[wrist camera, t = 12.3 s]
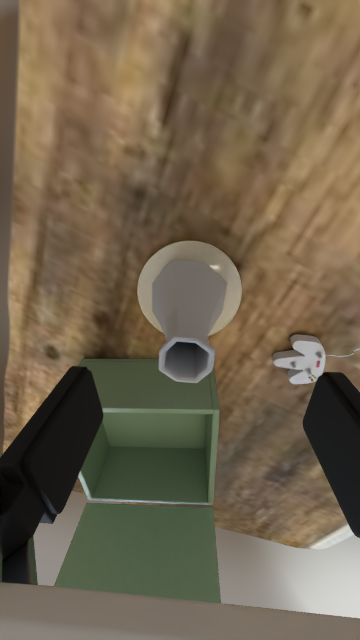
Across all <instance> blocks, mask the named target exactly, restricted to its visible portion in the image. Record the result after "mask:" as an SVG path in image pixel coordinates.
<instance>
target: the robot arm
mask: <svg viewBox="0 0 360 640" xmlns="http://www.w3.org/2000/svg"><path fill="white" fill-rule="evenodd" d="M102 420H103V409H102V406H101V402H100V399H99V396H98V392H97V389H96V385H95V382H94V378H93V375H92V372H91V371H90V370H88V368H87V367H81V366H72V367H71V368H70V369H69V370H68V371H67V372H66V374H65V375H64V376H63V378H62V379H61V380H60V381H59V383H58V384H57V385H56V387H55V388H54V389H53V390H52V392H51V393H50V394H49V396H48V397H47V398H46V399H45V401H44V402H43V403H42V405H41V406H40V407H39V408H38V410H37V411H36V412H35V414H34V415H33V416H32V418H31V419H30V420H29V421H28V423H27V424H26V425H25V427H24V428H23V429H22V430H21V432H20V433H19V434H18V436H17V437H16V438H15V439H14V441H13V442H12V443H11V445H10V446H9V447H8V448H7V450H6V451H5V452H4V454H3V455H2V456H1V458H0V640H360V619H359V618H350V617H341V616H332V615H323V614H314V613H305V612H296V611H287V610H278V609H269V608H260V607H251V606H240V605H232V604H222V603H213V602H204V601H194V600H185V599H175V598H166V597H156V596H147V595H137V594H127V593H117V592H107V591H97V590H87V589H77V588H67V587H57V586H43V585H38V584H37V572H36V561H35V550H34V540H33V535H34V533H35V531H36V528H37V527H38V524H39V523H50V524H53V522H54V520H55V518H56V516H57V514H60V513H61V512H62V510H63V509H64V507H65V505H66V502H67V500H68V498H69V496H70V493H71V491H72V489H73V487H74V484H75V482H76V480H77V477H78V475H79V473H80V471H81V468H82V466H83V464H84V462H85V459H86V457H87V455H88V452H89V450H90V448H91V446H92V443H93V441H94V439H95V436H96V434H97V432H98V430H99V427H100V425H101V423H102ZM303 428H304V430H305V433H306V435H307V437H308V439H309V441H310V443H311V445H312V447H313V450H314V452H315V454H316V456H317V458H318V460H319V462H320V464H321V467H322V469H323V471H324V473H325V475H326V477H327V479H328V481H329V484H330V486H331V488H332V490H333V492H334V494H335V496H336V498H337V501H338V503H339V505H340V507H341V509H342V511H343V513H344V515H345V518H346V520H347V522H348V524H349V526H350V528H351V530H352V532H353V533H354V534H355V535H356V536H357V537H359V538H360V392H359V391H358V390H357V389H356V388H355V386H354V385H353V384H352V383H351V382H350V381H349V379H348V378H347V377H346V376H345V375H344V374H343V373H340V372H324V373H323V374H322V376H319V377H318V379H317V382H316V385H315V387H314V390H313V393H312V396H311V399H310V402H309V404H308V407H307V410H306V413H305V416H304V419H303Z"/></svg>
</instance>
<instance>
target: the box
mask: <svg viewBox="0 0 360 640" xmlns="http://www.w3.org/2000/svg"><path fill="white" fill-rule="evenodd" d="M78 366H81V367H87V368H88V370H90V371H91V372H92V375H93V378H94V382H95V385H96V389H97V392H98V396H99V399H100V402H101V406H102V409H103V420H102V423H101V425H100V427H99V430H98V432H97V434H96V436H95V439H94V441H93V443H92V446H91V448H90V450H89V452H88V455H87V457H86V459H85V462H84V464H83V466H82V468H81V471H80V473H79V475H78V477H79V479H80V482H81V484H82V486H83V488H84V491H85V493H86V495H87V498H88V500H96V501H121V502H147V503H172V504H198V505H213V495H214V482H215V468H216V455H217V441H218V428H219V415H220V407H219V400H218V393H217V386H216V379H215V372H214V365H213V369H212V371H211V372H210V373H209V374H208V375H206V376H205V377H204V378H203V379H201V380H200V381H199V382H198V383H189V382H177V381H174V380H173V379H171V378H170V377H168V376H167V375H166V374H164V373H163V372H161V371H160V370H159V359H83V360H82V361H81V362H80V364H79V365H78Z"/></svg>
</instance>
